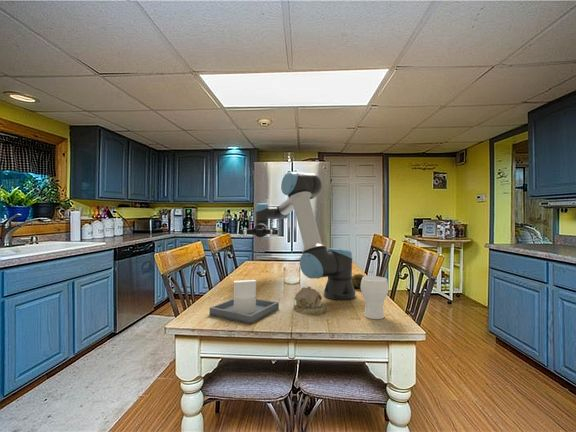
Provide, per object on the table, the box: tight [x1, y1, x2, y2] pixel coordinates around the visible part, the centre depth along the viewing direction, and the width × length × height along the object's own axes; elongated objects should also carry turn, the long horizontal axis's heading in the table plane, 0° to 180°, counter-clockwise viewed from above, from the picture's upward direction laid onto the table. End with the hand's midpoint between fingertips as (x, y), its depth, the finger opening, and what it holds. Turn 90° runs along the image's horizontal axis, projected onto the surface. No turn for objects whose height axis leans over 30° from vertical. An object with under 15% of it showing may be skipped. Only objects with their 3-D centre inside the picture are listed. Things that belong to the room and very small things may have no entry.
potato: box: [352, 273, 365, 289], centre depth 171 cm, size 8×13×8 cm, turn 175°
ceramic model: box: [293, 286, 326, 316], centre depth 133 cm, size 14×11×10 cm
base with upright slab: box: [233, 279, 257, 314], centre depth 129 cm, size 9×9×12 cm
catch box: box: [209, 297, 280, 325], centre depth 129 cm, size 20×20×3 cm
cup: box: [360, 275, 389, 320], centre depth 125 cm, size 11×11×15 cm
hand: (257, 233), depth 160 cm, fingers open, 13 cm apart
